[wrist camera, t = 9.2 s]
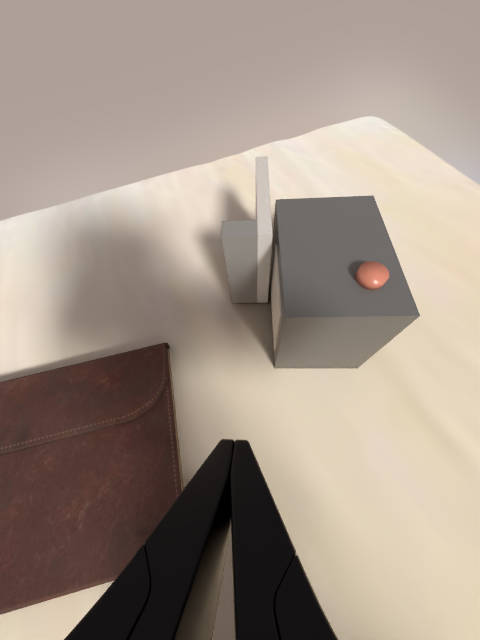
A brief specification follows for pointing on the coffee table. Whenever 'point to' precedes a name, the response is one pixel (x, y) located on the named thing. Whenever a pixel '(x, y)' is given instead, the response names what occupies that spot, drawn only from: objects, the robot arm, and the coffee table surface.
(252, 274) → the door
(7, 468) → the notebook
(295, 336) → the block
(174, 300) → the coffee table surface
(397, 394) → the coffee table surface
